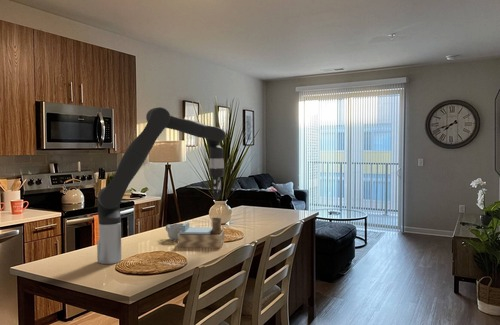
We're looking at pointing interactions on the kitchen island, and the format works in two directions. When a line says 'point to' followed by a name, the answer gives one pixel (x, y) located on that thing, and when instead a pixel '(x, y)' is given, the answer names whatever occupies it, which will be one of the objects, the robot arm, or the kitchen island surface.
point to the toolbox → (201, 240)
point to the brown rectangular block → (216, 225)
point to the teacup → (174, 231)
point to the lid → (195, 229)
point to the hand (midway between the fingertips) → (216, 198)
